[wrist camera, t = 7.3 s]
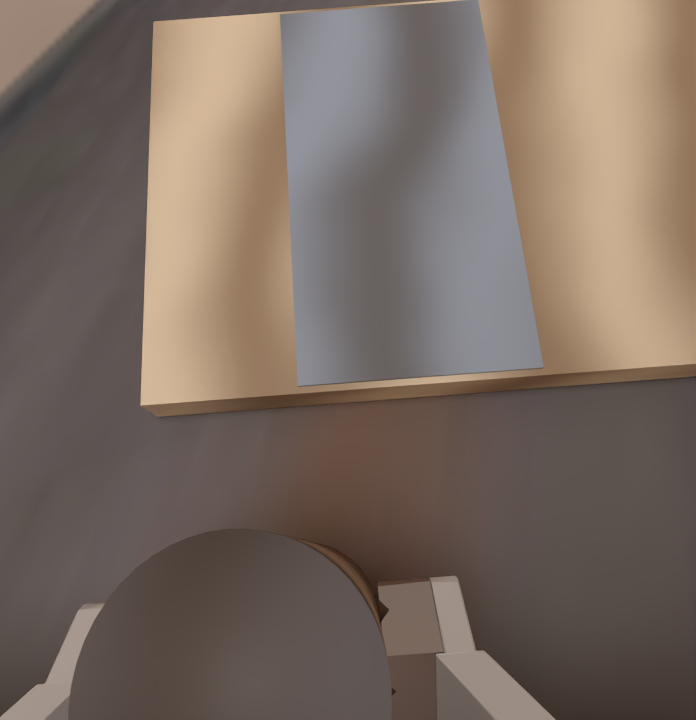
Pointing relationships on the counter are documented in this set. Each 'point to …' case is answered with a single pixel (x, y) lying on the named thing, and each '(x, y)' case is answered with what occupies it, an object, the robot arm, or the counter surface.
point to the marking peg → (236, 636)
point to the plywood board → (419, 202)
